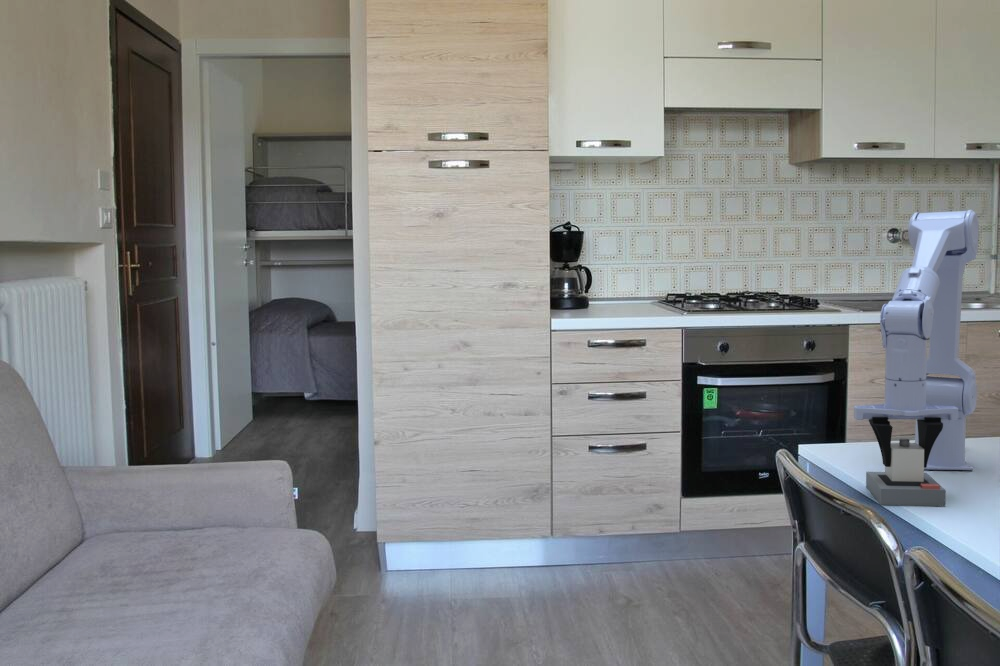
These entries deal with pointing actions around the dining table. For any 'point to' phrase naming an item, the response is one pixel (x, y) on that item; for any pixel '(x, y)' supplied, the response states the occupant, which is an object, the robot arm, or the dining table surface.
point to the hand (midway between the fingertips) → (904, 465)
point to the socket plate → (905, 491)
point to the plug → (906, 462)
